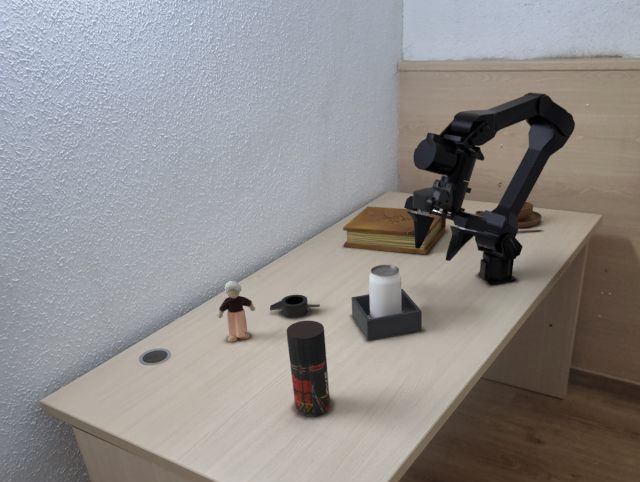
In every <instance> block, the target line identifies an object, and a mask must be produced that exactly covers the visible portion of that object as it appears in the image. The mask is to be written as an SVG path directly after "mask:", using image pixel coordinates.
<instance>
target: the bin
mask: <svg viewBox="0 0 640 482" xmlns="http://www.w3.org/2000/svg"><path fill="white" fill-rule="evenodd" d="M350 299H351V315H352V318H353V320H354V321H355V323H356V324H357V326H358V328H359V329H360V330H361V332H362V334H363V336H364V337H365V339H366V340H367V341H373V340H380V339H384V338H389V337H395V336H400V335H406V334H412V333H417V332H422V326H423V324H422V323H423V322H422V321H423V319H422V318H423V315H422V314H423V311H422V309H421V308H420V307H419V306H418V304H416V303H415V301H414V300H413V299H412V298H411V297H410V296H409V295H408V293H407V292H406V291H405V290H404V288H401V313H400V314H394V315H389V316H383V317H377V318H371V319H370V317H369V316H370V296H369V293H368V294H363V295H356V296H352V297H351V298H350Z"/></svg>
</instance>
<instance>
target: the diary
mask: <svg viewBox="0 0 640 482" xmlns="http://www.w3.org/2000/svg"><path fill="white" fill-rule="evenodd" d="M407 211H410V210H409V209H406V208H399V207H397V208H396V207H382V206H381V207H380V206H366V207H365V208H364V209H362V211H360V212H359V213H358V214H357V215H356V216H355V217H353V218H352V219H350V221H348V223H346V224H345V225H344V226H343V227H342V230H343V231H346V241H345V242H344V243H343V247H344V248H354V249H365V250H375V251H385V252H395V253H396V252H398V253H407V254H418V255H419V254H420V255H427V254H428V253H429V251H430V250H431V249H432V247H434V245H435V244H436V243H437V242H438V240H439V239H440V238H441V236H442V235H443V234H444V233H445V231H446V227H447V219H446V218H443V217H440V216H437V215H434V214H429V216H432V217H435V218H434V220H433V222H432V225H431V227H430V229H429V231H428V233H427V235H426V238H425V240H424V242H423V244H422V245H421V247H420V249H417V248H415V231H414V221H413V219H412V217H411V216H410V214H408V213H407ZM440 211H441V212H442V210H440Z"/></svg>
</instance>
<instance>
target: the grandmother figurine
mask: <svg viewBox="0 0 640 482" xmlns="http://www.w3.org/2000/svg"><path fill="white" fill-rule="evenodd" d="M224 291H225V293H226V295H227V297H226V298H225V299H224V300H223V301H222V303H221V305H220V306H219V308H218V309H219V310H218V311H217V312H218V313H217V318H219V319H222V318H223V316H224V315H223V314H224V312H226V311H227V314H226V316H227V330H228V337H227V342H231V343H232V342H236V341H238V338H239V339H240V340H247V339H249V338H250V334H249V333H247V332H248V326H247V325H248V324H247V323H248V322H247V317H246V311H245V309H244V307H248V308H249V309H250V311H251V312H254V311H255V310H256V307H255V306H254V303H253V301H252V300H251V299H249V298H248V297H245V296H242V295H240V293H241V291H242V285H241V284H239V282H238V281H235V280H229V281H227V282H226V283H225V285H224Z"/></svg>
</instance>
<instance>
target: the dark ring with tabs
mask: <svg viewBox="0 0 640 482" xmlns="http://www.w3.org/2000/svg"><path fill="white" fill-rule="evenodd" d="M320 306H321V303H320V304H319V303H318V304H312V303H311V304H310V303H309V301H308V297H307V296H305V295H302V294H290V295H287V296H285V297H283V298H281V300H279V301H277V302H275V303H273V304H270V305H269V311H270V312H271V311H281V313H282V316H283V317H285V318H287V319H299V318H303V317H305V316H307V315H308V313H309V308H320Z"/></svg>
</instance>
